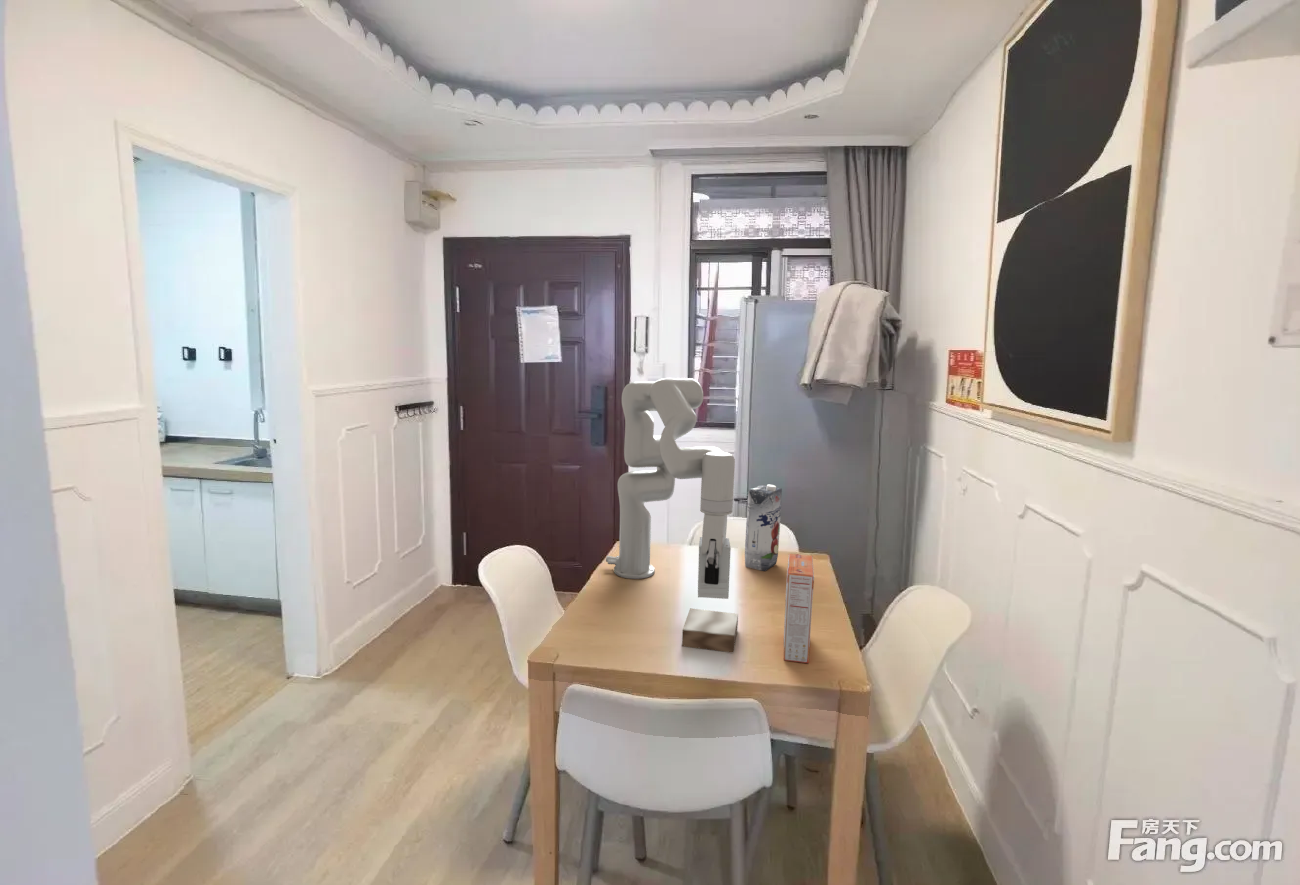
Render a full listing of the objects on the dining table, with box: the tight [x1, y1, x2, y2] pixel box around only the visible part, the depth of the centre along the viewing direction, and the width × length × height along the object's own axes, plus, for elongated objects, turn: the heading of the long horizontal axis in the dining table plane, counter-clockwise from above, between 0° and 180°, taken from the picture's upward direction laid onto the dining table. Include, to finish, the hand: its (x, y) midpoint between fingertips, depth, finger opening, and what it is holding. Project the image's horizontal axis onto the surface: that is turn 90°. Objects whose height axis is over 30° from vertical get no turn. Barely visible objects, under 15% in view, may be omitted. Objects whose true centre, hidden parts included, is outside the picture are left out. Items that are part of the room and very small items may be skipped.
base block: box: [681, 608, 739, 654], centre depth 150 cm, size 12×12×4 cm
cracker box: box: [783, 553, 815, 664], centre depth 145 cm, size 14×6×21 cm, turn 167°
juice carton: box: [744, 484, 783, 572], centre depth 200 cm, size 9×10×27 cm
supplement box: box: [697, 536, 732, 600], centre depth 148 cm, size 7×7×13 cm
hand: (713, 576), depth 148 cm, fingers closed on supplement box, 7 cm apart
